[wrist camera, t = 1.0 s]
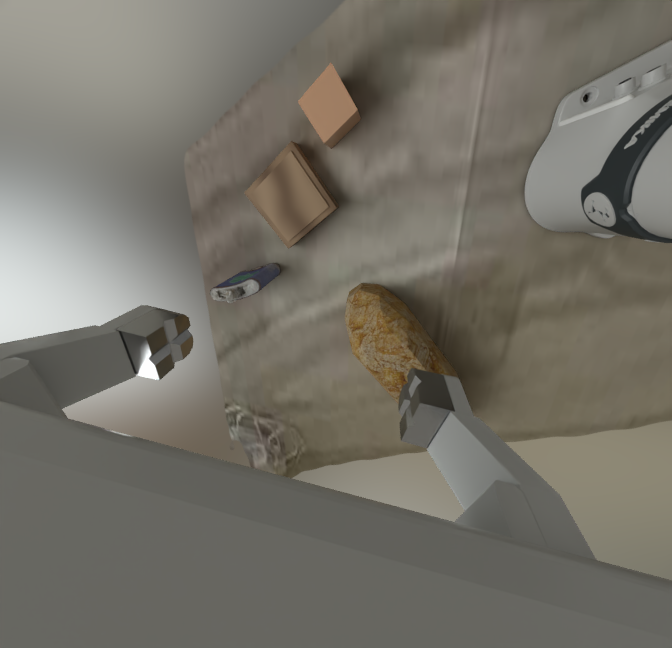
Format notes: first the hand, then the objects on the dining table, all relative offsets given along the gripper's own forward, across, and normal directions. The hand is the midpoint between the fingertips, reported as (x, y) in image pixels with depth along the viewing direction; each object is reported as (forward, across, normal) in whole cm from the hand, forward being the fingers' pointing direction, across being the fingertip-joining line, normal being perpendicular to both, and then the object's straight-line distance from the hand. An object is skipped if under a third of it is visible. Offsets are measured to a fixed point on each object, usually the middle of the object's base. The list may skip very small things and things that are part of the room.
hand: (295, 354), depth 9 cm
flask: (+34, +17, +12) cm, 40 cm away
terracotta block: (+34, +6, -12) cm, 37 cm away
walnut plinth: (+34, +11, -1) cm, 36 cm away
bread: (+34, -14, +23) cm, 44 cm away
